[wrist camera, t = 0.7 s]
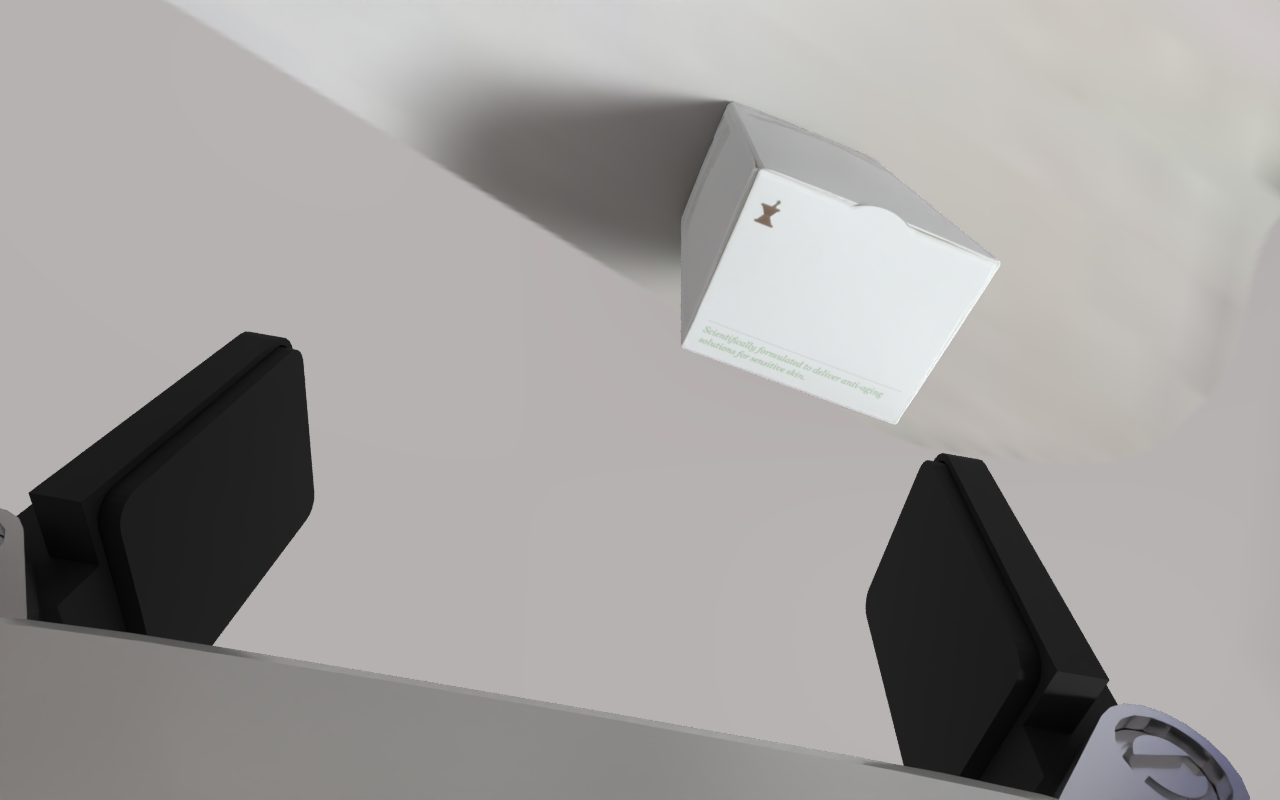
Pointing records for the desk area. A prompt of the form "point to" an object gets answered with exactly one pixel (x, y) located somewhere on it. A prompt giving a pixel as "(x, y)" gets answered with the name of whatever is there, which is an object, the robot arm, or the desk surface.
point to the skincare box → (820, 267)
